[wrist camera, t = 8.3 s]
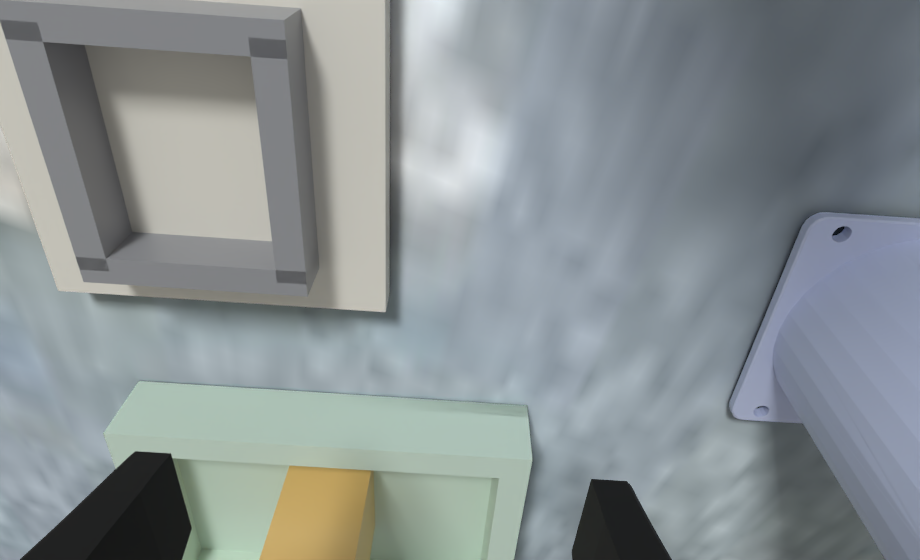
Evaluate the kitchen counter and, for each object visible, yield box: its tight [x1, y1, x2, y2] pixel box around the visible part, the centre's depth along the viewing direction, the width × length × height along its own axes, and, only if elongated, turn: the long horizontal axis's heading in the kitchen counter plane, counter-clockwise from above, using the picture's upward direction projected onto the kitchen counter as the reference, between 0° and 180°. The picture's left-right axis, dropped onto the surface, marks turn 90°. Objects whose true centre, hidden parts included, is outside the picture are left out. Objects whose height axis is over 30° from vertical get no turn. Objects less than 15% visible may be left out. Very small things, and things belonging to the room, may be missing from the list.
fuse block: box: [0, 0, 390, 312], centre depth 16 cm, size 10×10×2 cm
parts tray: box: [103, 381, 532, 560], centre depth 24 cm, size 14×10×2 cm
